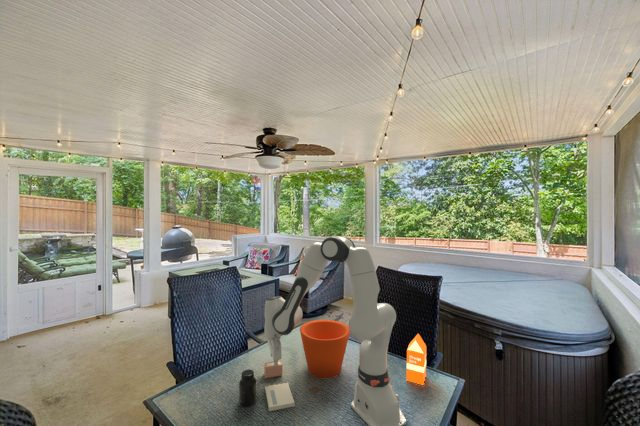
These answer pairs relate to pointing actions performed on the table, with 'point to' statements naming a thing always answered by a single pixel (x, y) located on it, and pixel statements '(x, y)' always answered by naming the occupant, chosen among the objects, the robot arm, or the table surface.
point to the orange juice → (416, 361)
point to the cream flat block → (279, 396)
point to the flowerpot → (324, 346)
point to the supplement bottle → (247, 389)
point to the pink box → (272, 369)
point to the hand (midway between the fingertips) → (274, 360)
